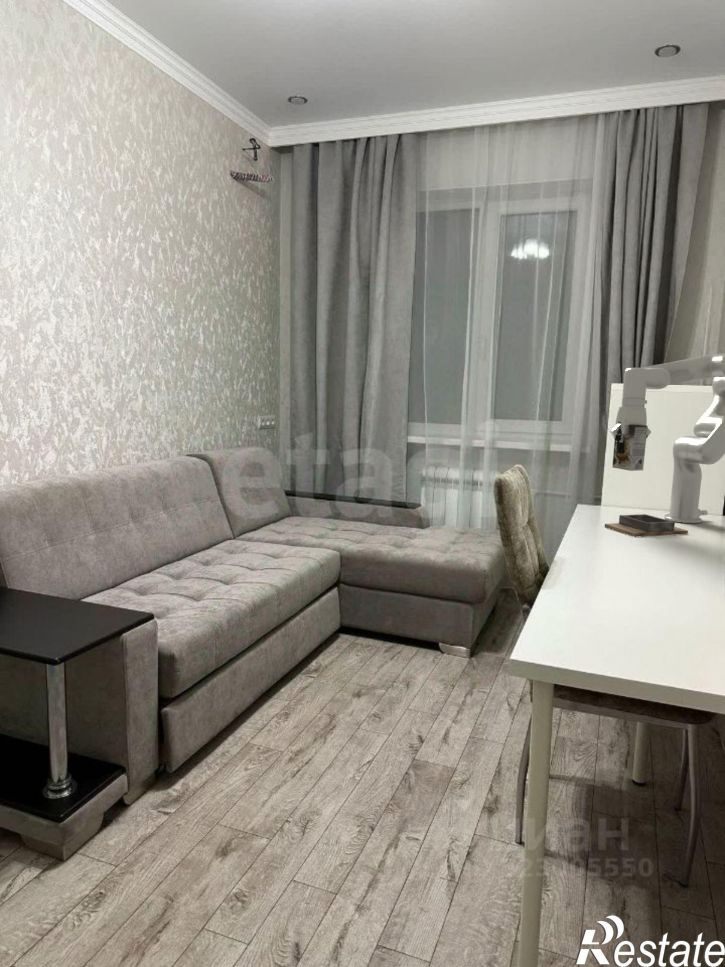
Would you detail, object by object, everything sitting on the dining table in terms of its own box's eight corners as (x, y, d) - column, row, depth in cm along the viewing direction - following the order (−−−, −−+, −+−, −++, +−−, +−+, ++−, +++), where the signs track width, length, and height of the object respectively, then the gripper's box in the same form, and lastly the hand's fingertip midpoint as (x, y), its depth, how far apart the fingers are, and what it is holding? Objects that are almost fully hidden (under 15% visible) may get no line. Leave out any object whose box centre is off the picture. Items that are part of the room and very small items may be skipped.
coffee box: (611, 467, 237) (614, 423, 235) (625, 467, 240) (628, 423, 237) (630, 471, 229) (634, 424, 226) (644, 470, 231) (648, 424, 229)
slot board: (655, 524, 236) (656, 513, 235) (687, 534, 221) (689, 521, 221) (604, 527, 229) (605, 515, 228) (634, 536, 215) (635, 524, 214)
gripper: (646, 403, 236) (642, 452, 239) (605, 402, 232) (601, 452, 235) (661, 404, 229) (656, 454, 232) (618, 403, 225) (614, 454, 227)
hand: (629, 453), depth 233 cm, fingers closed on coffee box, 6 cm apart
